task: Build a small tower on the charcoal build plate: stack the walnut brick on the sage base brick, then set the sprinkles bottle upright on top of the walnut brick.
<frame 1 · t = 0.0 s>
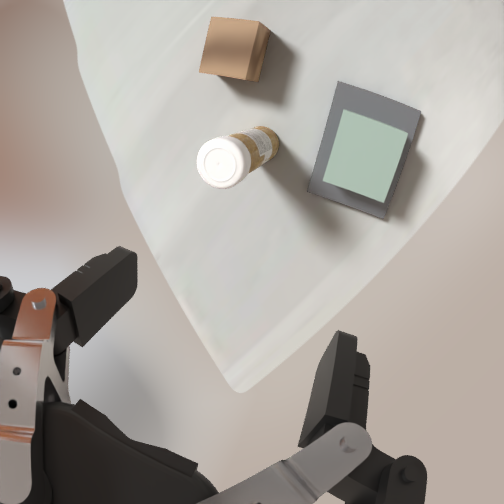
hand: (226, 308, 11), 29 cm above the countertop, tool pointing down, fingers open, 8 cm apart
sprinkles bottle: (262, 143, 37), on the countertop
walnut brick: (243, 52, 32), on the countertop
build plate: (363, 149, 34), on the countertop
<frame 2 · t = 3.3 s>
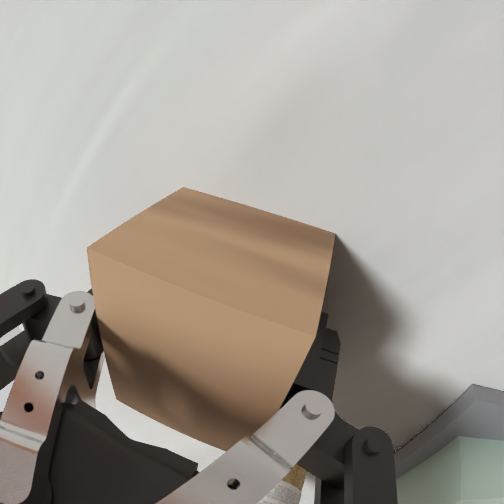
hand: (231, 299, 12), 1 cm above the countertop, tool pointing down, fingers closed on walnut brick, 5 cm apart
sprinkles bottle: (281, 441, 17), on the countertop
walnut brick: (238, 289, 12), on the countertop, touching gripper
build plate: (456, 457, 14), on the countertop
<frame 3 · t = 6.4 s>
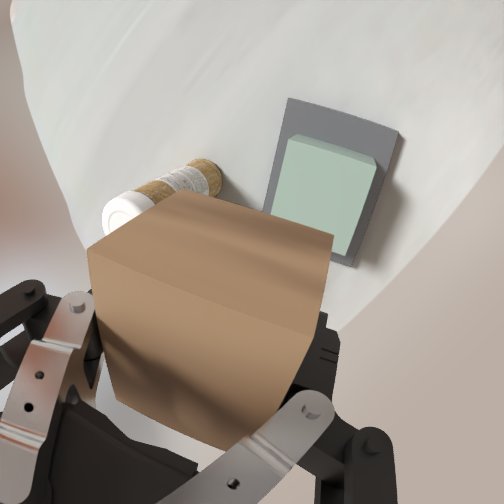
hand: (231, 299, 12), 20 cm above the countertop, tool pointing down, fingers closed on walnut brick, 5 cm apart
sprinkles bottle: (204, 177, 32), on the countertop
walnut brick: (237, 290, 12), point 19 cm above the countertop, touching gripper
build plate: (324, 183, 28), on the countertop
when the fingers open (6 cm above the countertop, at t = 9.6 s): walnut brick stays where it is, resting on build plate.
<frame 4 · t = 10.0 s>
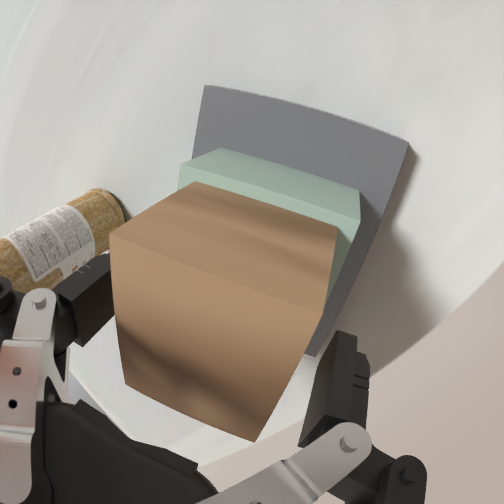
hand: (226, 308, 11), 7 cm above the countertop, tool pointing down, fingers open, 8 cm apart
sprinkles bottle: (106, 215, 21), on the countertop
walnut brick: (245, 278, 13), point 5 cm above the countertop, touching build plate
build plate: (273, 231, 17), on the countertop
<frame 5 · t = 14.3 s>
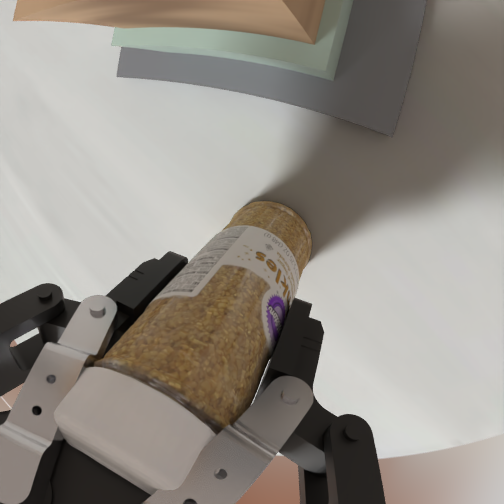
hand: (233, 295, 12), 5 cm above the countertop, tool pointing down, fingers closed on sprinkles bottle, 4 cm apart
sprinkles bottle: (270, 237, 17), on the countertop, touching gripper
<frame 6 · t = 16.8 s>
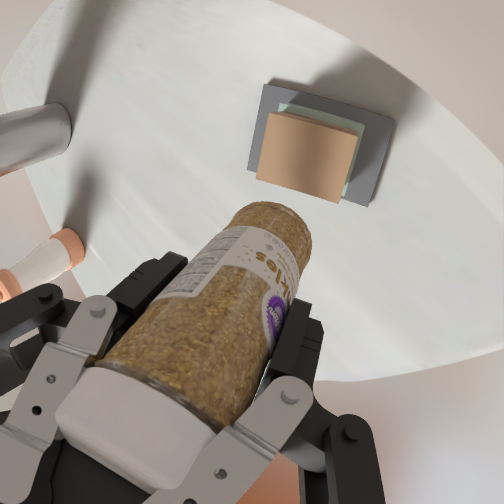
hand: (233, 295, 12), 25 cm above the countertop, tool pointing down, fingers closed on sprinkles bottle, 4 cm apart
sprinkles bottle: (270, 237, 17), point 19 cm above the countertop, touching gripper
walnut brick: (313, 148, 27), point 5 cm above the countertop, touching build plate
salt shaker: (72, 244, 53), on the countertop
build plate: (319, 142, 32), on the countertop
when the fingers open (16 cm above the countertop, at t = 19.5 s): sprinkles bottle stays where it is, resting on walnut brick.
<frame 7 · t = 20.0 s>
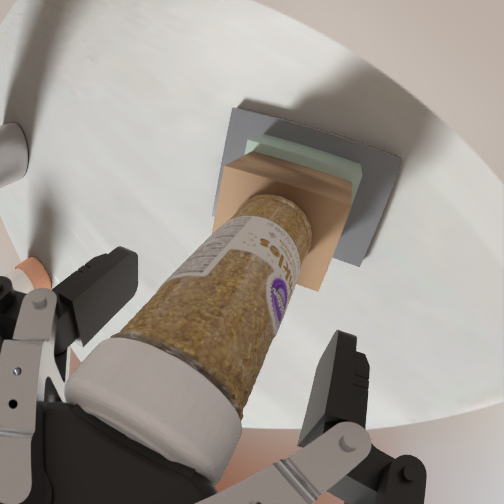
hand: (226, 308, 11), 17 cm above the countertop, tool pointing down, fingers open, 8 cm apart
sprinkles bottle: (272, 229, 17), point 10 cm above the countertop, touching walnut brick
walnut brick: (291, 203, 21), point 5 cm above the countertop, touching build plate, sprinkles bottle
salt shaker: (39, 274, 46), on the countertop
build plate: (302, 185, 26), on the countertop
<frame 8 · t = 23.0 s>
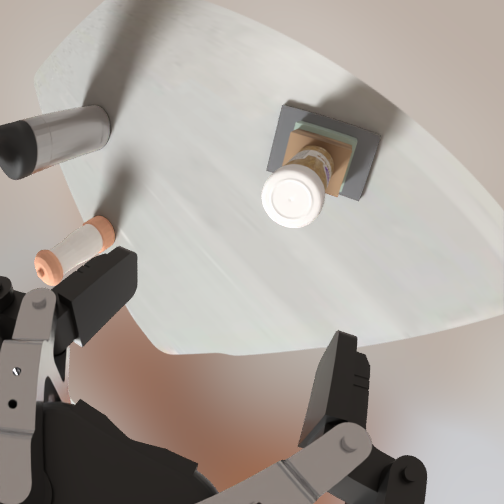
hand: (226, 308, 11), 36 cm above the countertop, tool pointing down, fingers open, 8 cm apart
sprinkles bottle: (313, 164, 33), point 10 cm above the countertop, touching walnut brick
walnut brick: (319, 157, 37), point 5 cm above the countertop, touching build plate, sprinkles bottle
salt shaker: (103, 230, 62), on the countertop
build plate: (322, 151, 42), on the countertop
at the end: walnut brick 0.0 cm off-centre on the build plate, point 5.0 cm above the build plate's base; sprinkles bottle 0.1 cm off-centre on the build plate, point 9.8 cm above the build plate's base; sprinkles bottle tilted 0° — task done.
